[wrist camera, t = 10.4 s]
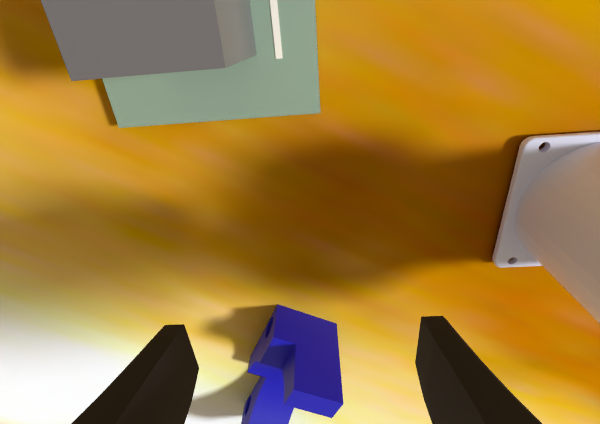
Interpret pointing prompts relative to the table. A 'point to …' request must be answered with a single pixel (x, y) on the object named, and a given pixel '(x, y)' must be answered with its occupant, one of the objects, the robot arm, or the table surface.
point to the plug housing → (149, 35)
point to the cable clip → (294, 369)
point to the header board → (234, 77)
